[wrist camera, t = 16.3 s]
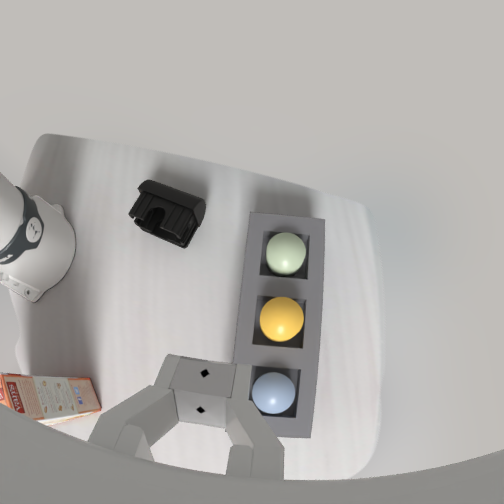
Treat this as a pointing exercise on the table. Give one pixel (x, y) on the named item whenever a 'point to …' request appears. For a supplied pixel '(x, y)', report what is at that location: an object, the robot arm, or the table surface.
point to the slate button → (273, 392)
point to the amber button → (281, 319)
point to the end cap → (168, 212)
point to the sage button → (285, 254)
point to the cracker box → (48, 397)
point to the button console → (301, 291)
